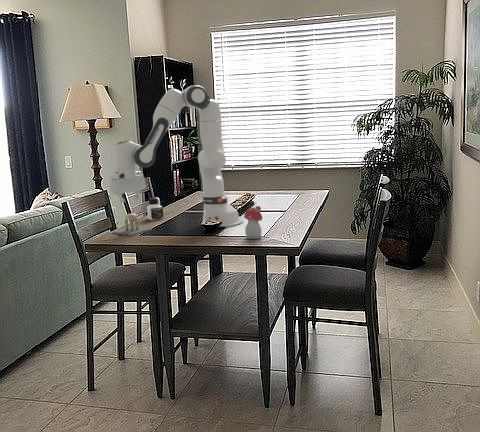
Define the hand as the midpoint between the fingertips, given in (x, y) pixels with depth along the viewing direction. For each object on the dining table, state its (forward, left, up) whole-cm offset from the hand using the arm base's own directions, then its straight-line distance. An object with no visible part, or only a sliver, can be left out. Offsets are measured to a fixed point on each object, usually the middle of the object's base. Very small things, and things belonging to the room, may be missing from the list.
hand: (129, 200), depth 279 cm
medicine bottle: (+15, -30, -16) cm, 37 cm away
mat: (0, 0, -16) cm, 16 cm away
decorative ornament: (-66, -16, -16) cm, 70 cm away
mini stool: (0, 0, -15) cm, 15 cm away
